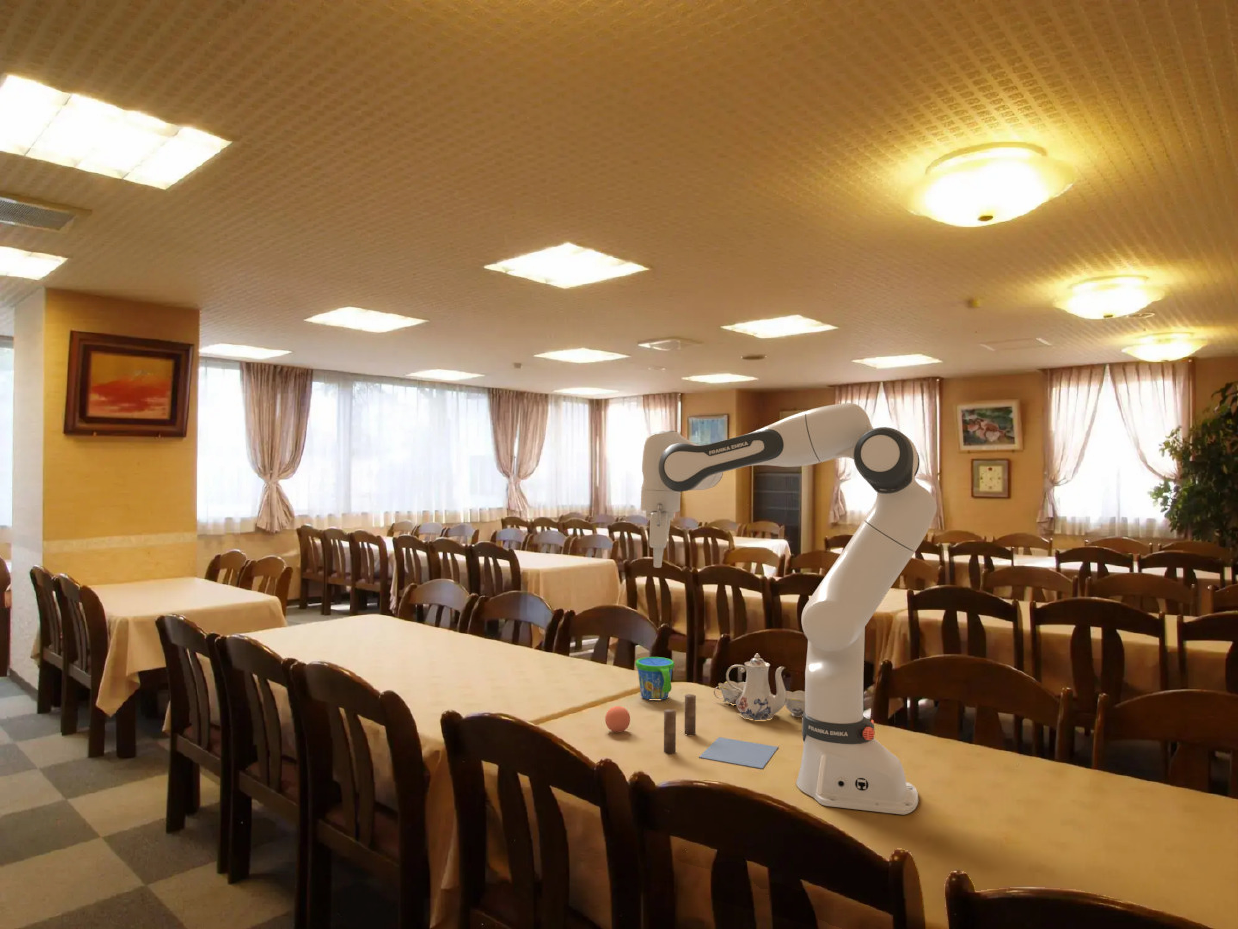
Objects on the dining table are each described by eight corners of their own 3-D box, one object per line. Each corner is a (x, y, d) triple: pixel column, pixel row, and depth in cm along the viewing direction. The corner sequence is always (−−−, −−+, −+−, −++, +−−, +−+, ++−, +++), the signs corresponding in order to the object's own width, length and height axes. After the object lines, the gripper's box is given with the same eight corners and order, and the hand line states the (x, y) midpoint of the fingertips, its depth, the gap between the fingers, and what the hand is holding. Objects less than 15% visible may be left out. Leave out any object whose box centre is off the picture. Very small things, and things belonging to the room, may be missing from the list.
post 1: (677, 750, 163) (677, 710, 164) (673, 754, 161) (673, 713, 161) (666, 749, 164) (666, 708, 165) (662, 752, 162) (662, 711, 162)
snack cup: (682, 704, 198) (683, 666, 198) (646, 707, 195) (646, 669, 195) (662, 689, 213) (662, 653, 213) (628, 691, 210) (628, 655, 210)
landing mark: (778, 747, 166) (778, 746, 166) (762, 769, 153) (762, 768, 153) (718, 738, 172) (718, 737, 172) (698, 757, 159) (698, 757, 159)
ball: (634, 730, 177) (634, 705, 177) (623, 737, 172) (623, 711, 172) (611, 726, 180) (612, 701, 180) (600, 733, 174) (601, 708, 174)
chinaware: (821, 719, 192) (822, 654, 194) (809, 731, 177) (810, 661, 179) (718, 704, 204) (720, 643, 206) (699, 715, 189) (701, 649, 191)
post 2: (697, 733, 175) (697, 695, 175) (693, 736, 173) (693, 698, 173) (686, 731, 176) (687, 693, 177) (683, 734, 174) (683, 696, 174)
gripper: (674, 505, 154) (671, 571, 154) (674, 502, 175) (672, 560, 174) (644, 504, 155) (641, 570, 155) (648, 501, 175) (646, 559, 175)
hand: (658, 564), depth 165 cm, fingers open, 8 cm apart
